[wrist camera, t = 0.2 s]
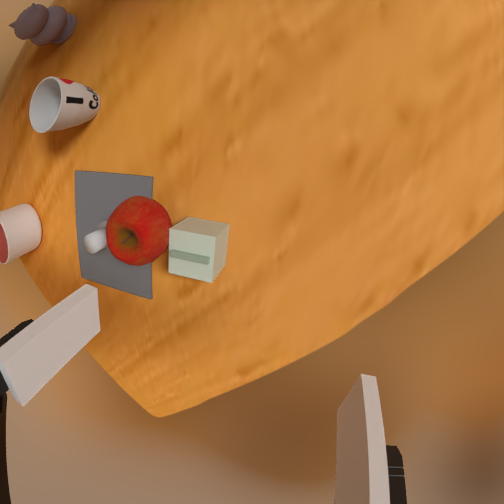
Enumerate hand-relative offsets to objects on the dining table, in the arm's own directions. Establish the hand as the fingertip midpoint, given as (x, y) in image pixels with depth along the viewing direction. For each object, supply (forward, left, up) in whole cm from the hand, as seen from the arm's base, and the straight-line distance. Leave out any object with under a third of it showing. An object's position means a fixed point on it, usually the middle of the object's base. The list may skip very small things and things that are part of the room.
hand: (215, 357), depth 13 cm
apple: (+3, -18, -27) cm, 33 cm away
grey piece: (+7, -27, -27) cm, 39 cm away
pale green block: (+5, -10, -27) cm, 29 cm away
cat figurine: (-31, -44, -28) cm, 60 cm away
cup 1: (+9, -51, -28) cm, 58 cm away
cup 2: (-14, -33, -27) cm, 45 cm away
